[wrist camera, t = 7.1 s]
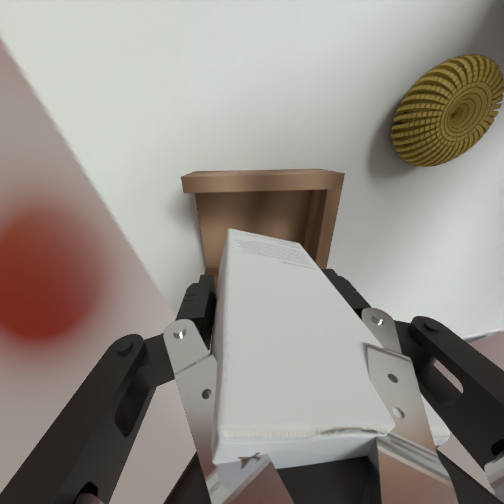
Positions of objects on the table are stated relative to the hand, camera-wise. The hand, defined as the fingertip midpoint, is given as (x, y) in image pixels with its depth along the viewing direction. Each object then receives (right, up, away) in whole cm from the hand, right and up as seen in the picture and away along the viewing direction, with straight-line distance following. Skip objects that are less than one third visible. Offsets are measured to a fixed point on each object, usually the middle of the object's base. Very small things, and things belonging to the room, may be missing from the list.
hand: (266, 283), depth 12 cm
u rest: (0, +5, +10) cm, 11 cm away
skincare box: (0, +2, +4) cm, 4 cm away
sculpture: (+16, +15, +7) cm, 23 cm away
